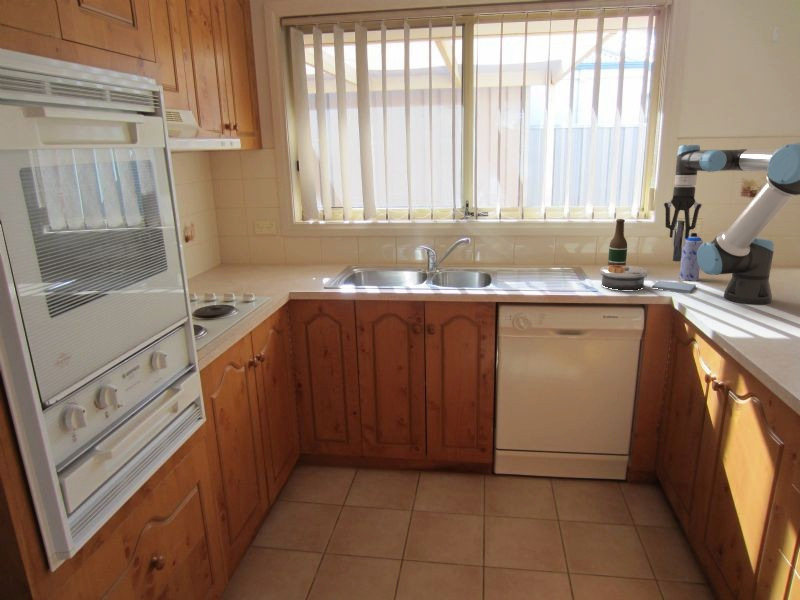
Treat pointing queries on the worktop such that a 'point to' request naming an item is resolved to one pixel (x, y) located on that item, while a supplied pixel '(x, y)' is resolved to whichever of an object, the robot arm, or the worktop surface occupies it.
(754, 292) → the robot arm
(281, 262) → the worktop surface
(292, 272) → the worktop surface
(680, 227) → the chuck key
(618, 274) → the disc
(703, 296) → the worktop surface
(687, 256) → the aerosol can
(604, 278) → the cylinder
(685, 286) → the plate
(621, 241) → the beer bottle
